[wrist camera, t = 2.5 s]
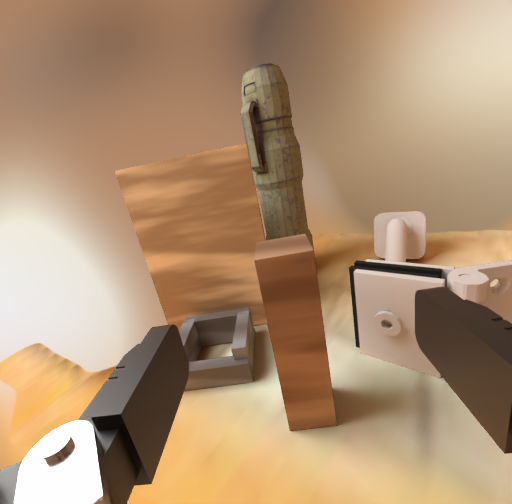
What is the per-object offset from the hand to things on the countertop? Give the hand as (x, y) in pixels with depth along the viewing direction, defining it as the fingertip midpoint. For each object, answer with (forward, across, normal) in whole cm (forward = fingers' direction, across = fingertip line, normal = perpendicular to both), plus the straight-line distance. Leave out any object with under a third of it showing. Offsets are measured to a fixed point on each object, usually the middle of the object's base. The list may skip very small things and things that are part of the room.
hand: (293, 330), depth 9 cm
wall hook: (+38, -20, +16) cm, 46 cm away
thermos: (+43, -2, +16) cm, 46 cm away
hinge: (+16, -13, +17) cm, 27 cm away
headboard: (+22, +10, +17) cm, 29 cm away
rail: (+13, 0, +17) cm, 21 cm away
